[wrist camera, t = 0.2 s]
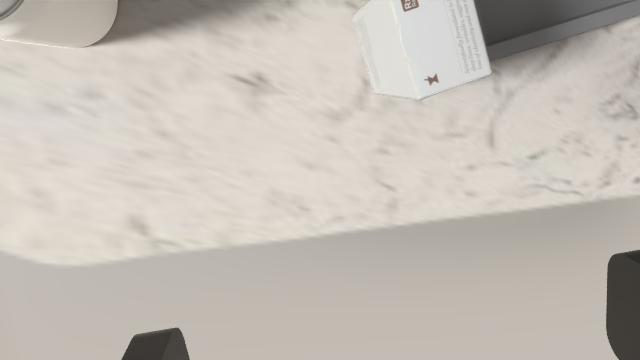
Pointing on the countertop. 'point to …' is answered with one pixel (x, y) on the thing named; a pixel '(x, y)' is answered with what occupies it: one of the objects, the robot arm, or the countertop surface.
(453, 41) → the skincare box
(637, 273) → the robot arm
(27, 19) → the can
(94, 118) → the countertop surface
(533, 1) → the tray
